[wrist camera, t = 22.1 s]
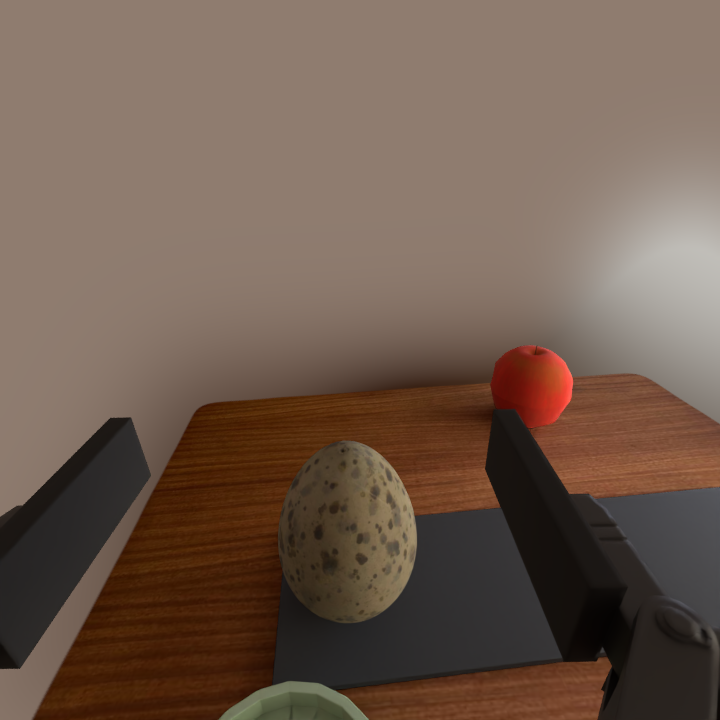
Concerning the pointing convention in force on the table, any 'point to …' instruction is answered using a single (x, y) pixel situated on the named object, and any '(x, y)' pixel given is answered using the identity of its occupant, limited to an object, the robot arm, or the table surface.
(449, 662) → the mat
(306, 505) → the decorative egg
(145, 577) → the table surface
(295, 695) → the bowl
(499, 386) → the apple
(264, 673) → the table surface
